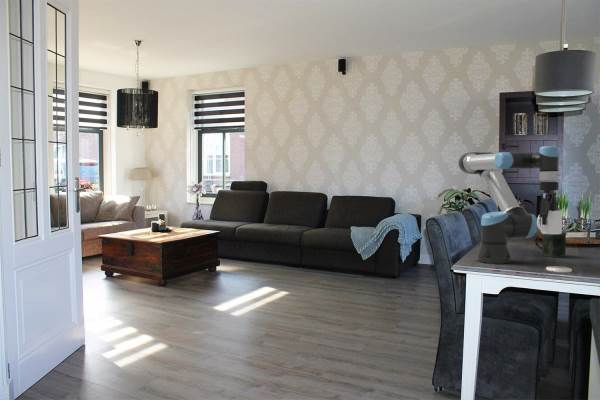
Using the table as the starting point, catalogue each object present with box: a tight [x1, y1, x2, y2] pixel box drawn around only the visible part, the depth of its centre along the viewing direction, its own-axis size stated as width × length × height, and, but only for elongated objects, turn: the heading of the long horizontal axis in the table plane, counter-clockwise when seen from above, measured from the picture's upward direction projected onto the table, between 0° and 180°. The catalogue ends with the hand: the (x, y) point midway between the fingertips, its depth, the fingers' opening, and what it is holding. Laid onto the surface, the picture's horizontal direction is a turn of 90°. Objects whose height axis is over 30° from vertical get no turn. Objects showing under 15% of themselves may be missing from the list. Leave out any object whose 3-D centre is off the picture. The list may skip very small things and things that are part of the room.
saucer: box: [545, 265, 573, 274], centre depth 221 cm, size 10×10×1 cm
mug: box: [534, 231, 568, 258], centre depth 258 cm, size 11×15×12 cm
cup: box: [536, 209, 563, 235], centre depth 224 cm, size 8×12×10 cm
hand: (548, 231), depth 225 cm, fingers closed on cup, 10 cm apart
